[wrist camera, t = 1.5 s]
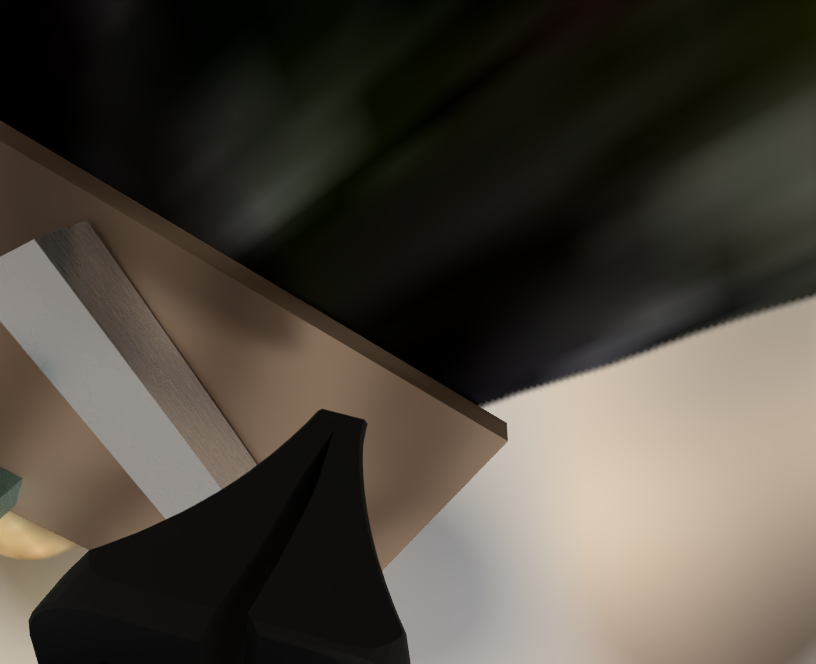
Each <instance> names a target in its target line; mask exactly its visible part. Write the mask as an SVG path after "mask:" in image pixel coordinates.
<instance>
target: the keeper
mask: <svg viewBox="0 0 816 664" xmlns="http://www.w3.org/2000/svg"><path fill="white" fill-rule="evenodd" d="M22 480H23V478H21V477H19V476H17V475H15V474H13V473H11V472H9V471H7V470H5V469H3V468H1V467H0V519H1V518H2V517H3V516H4V515H5V514H6V513H7V512H8V511H9V510H10V509H12V508H13V507H14V506H15V505H16V503H17V499H18V495H19V491H20V488H21V484H22Z"/></svg>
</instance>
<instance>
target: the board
mask: <svg viewBox="0 0 816 664" xmlns="http://www.w3.org/2000/svg"><path fill="white" fill-rule="evenodd" d="M86 220H87V221H88V222H89V224H90V225H91V227H92V228H93V230H94V231H95V232H96V234H97V235H98V237H99V238H100V240H101V241H102V242H103V244H104V245H105V247H106V248H107V250H108V251H109V253H110V254H111V255H112V257H113V258H114V260H115V261H116V263H117V264H118V265H119V267H120V268H121V270H122V271H123V273H124V274H125V276H126V277H127V278H128V280H129V281H130V283H131V284H132V286H133V287H134V288H135V290H136V291H137V293H138V294H139V296H140V297H141V299H142V300H143V301H144V303H145V304H146V306H147V307H148V309H149V310H150V312H151V313H152V314H153V316H154V317H155V319H156V320H157V322H158V323H159V324H160V326H161V327H162V329H163V330H164V332H165V333H166V335H167V336H168V337H169V339H170V340H171V342H172V343H173V345H174V346H175V347H176V349H177V350H178V352H179V353H180V355H181V356H182V358H183V359H184V360H185V362H186V363H187V365H188V366H189V368H190V369H191V370H192V372H193V373H194V375H195V376H196V378H197V379H198V381H199V382H200V383H201V385H202V386H203V388H204V389H205V391H206V392H207V393H208V395H209V396H210V398H211V399H212V401H213V402H214V404H215V405H216V406H217V408H218V409H219V411H220V412H221V414H222V415H223V417H224V418H225V419H226V421H227V422H228V424H229V425H230V427H231V428H232V429H233V431H234V432H235V434H236V435H237V437H238V438H239V440H240V441H241V442H242V444H243V445H244V447H245V448H246V450H247V451H248V452H249V454H250V455H251V457H252V458H253V460H254V461H255V463H256V464H257V465H258V464H259V463H260V462H262V461H263V460H264V459H266V458H267V457H268V456H269V455H271V454H272V453H273V452H274V451H276V450H277V449H278V448H279V447H280V446H281V445H283V444H284V443H285V442H286V441H287V440H288V439H289V438H291V437H292V436H293V435H294V434H295V433H296V432H297V431H298V430H299V429H300V428H301V427H302V426H304V425H305V424H306V423H307V422H308V421H309V420H310V418H311V417H312V416H313V415H314V414H315V413H316V412H317V411H318V410H320V409H325V410H329V411H333V412H337V413H341V414H345V415H349V416H353V417H357V418H361V419H365V421H366V422H367V424H368V425H367V430H366V434H365V439H364V444H363V476H364V489H365V497H366V505H367V512H368V517H369V523H370V527H371V532H372V537H373V541H374V545H375V549H376V553H377V556H378V559H379V563H380V566H381V569H382V570H383V569H384V568H385V567H386V566H387V565H388V564H389V563H390V562H391V561H392V560H393V559H394V558H395V557H396V556H397V555H398V554H399V553H400V552H401V551H402V549H403V548H404V547H405V546H406V545H407V544H408V543H409V542H410V541H411V540H412V539H413V538H414V537H415V536H416V535H417V534H418V533H419V532H420V531H421V530H422V529H423V528H424V527H425V526H426V525H427V524H428V523H429V522H430V521H431V520H432V519H433V517H435V515H436V514H437V513H438V512H439V511H440V510H441V509H442V508H443V507H444V506H445V505H446V504H447V503H448V502H449V501H450V500H451V499H452V498H453V497H454V496H455V495H456V494H457V493H458V492H459V491H460V490H461V489H462V488H463V487H464V486H465V485H466V484H467V483H468V482H469V481H470V479H471V478H472V477H473V476H474V475H475V474H476V473H477V472H478V471H479V470H480V469H481V468H482V467H483V466H484V465H485V464H486V463H487V462H488V461H489V460H490V459H491V458H492V457H493V456H494V455H495V454H496V453H497V452H498V451H499V449H500V448H502V447H503V445H504V444H505V443H506V442H507V441H508V438H507V423H505V422H504V421H502V420H501V419H499V418H497V417H496V416H494V415H492V414H490V413H489V412H487V411H485V410H484V409H482V408H480V407H479V406H477V405H475V404H474V403H472V402H470V401H469V400H467V399H465V398H464V397H462V396H460V395H459V394H457V393H455V392H454V391H452V390H450V389H449V388H447V387H445V386H444V385H442V384H440V383H439V382H437V381H435V380H434V379H432V378H430V377H429V376H427V375H425V374H424V373H422V372H420V371H419V370H417V369H415V368H414V367H412V366H410V365H409V364H407V363H405V362H404V361H402V360H400V359H398V358H397V357H395V356H393V355H392V354H390V353H388V352H387V351H385V350H383V349H382V348H380V347H378V346H377V345H375V344H373V343H372V342H370V341H368V340H367V339H365V338H363V337H362V336H360V335H358V334H357V333H355V332H353V331H352V330H350V329H348V328H347V327H345V326H343V325H342V324H340V323H338V322H337V321H335V320H333V319H332V318H330V317H328V316H327V315H325V314H323V313H322V312H320V311H318V310H317V309H315V308H313V307H311V306H310V305H308V304H306V303H305V302H303V301H301V300H300V299H298V298H296V297H295V296H293V295H291V294H290V293H288V292H286V291H285V290H283V289H281V288H280V287H278V286H276V285H275V284H273V283H271V282H270V281H268V280H266V279H265V278H263V277H261V276H260V275H258V274H256V273H255V272H253V271H251V270H250V269H248V268H246V267H245V266H243V265H241V264H240V263H238V262H236V261H235V260H233V259H231V258H230V257H228V256H226V255H224V254H223V253H221V252H219V251H218V250H216V249H214V248H213V247H211V246H209V245H208V244H206V243H204V242H203V241H201V240H199V239H198V238H196V237H194V236H193V235H191V234H189V233H188V232H186V231H184V230H183V229H181V228H179V227H178V226H176V225H174V224H173V223H171V222H169V221H168V220H166V219H164V218H163V217H161V216H159V215H158V214H156V213H154V212H153V211H151V210H149V209H148V208H146V207H144V206H143V205H141V204H139V203H137V202H136V201H134V200H132V199H131V198H129V197H127V196H126V195H124V194H122V193H121V192H119V191H117V190H116V189H114V188H112V187H111V186H109V185H107V184H106V183H104V182H102V181H101V180H99V179H97V178H96V177H94V176H92V175H91V174H89V173H87V172H86V171H84V170H82V169H81V168H79V167H77V166H76V165H74V164H72V163H71V162H69V161H67V160H66V159H64V158H62V157H61V156H59V155H57V154H56V153H54V152H52V151H50V150H49V149H47V148H45V147H44V146H42V145H40V144H39V143H37V142H35V141H34V140H32V139H30V138H29V137H27V136H25V135H24V134H22V133H20V132H19V131H17V130H15V129H14V128H12V127H10V126H9V125H7V124H5V123H4V122H2V121H0V257H1V256H3V255H5V254H7V253H8V252H10V251H12V250H14V249H16V248H18V247H20V246H22V245H24V244H26V243H28V242H30V241H31V240H33V239H36V238H39V237H41V236H44V235H47V234H50V233H53V232H55V231H58V230H61V229H64V228H67V227H69V226H72V225H75V224H78V223H81V222H83V221H86ZM0 467H1V468H3V469H5V470H7V471H9V472H11V473H13V474H15V475H17V476H19V477H21V478H23V480H22V484H21V488H20V491H19V495H18V499H17V503H16V505H15V506H14V507H13V508H12V509H10V510H9V511H11V512H13V513H15V514H17V515H19V516H21V517H23V518H25V519H27V520H29V521H31V522H33V523H35V524H37V525H39V526H41V527H43V528H46V529H48V530H50V531H52V532H54V533H56V534H58V535H60V536H62V537H64V538H66V539H68V540H70V541H72V542H74V543H76V544H78V545H80V546H82V547H85V548H87V549H89V550H91V549H94V548H97V547H100V546H103V545H105V544H108V543H111V542H113V541H116V540H119V539H121V538H124V537H127V536H129V535H132V534H135V533H137V532H139V531H142V530H144V529H146V528H148V527H151V526H153V525H155V524H157V523H159V522H161V521H163V520H166V519H165V518H164V516H163V515H162V514H161V513H160V512H159V511H158V509H157V508H156V507H155V506H154V505H153V503H152V502H151V501H150V500H149V499H148V497H147V496H146V495H145V494H144V493H143V491H142V490H141V489H140V488H139V487H138V485H137V484H136V483H135V482H134V481H133V479H132V478H131V477H130V476H129V475H128V473H127V472H126V471H125V470H124V469H123V467H122V466H121V465H120V464H119V463H118V461H117V460H116V459H115V458H114V457H113V455H112V454H111V453H110V452H109V451H108V449H107V448H106V447H105V446H104V445H103V444H102V442H101V441H100V440H99V439H98V438H97V436H96V435H95V434H94V433H93V432H92V430H91V429H90V428H89V427H88V426H87V424H86V423H85V422H84V421H83V420H82V418H81V417H80V416H79V415H78V414H77V412H76V411H75V410H74V409H73V408H72V406H71V405H70V404H69V403H68V402H67V400H66V399H65V398H64V397H63V396H62V394H61V393H60V392H59V391H58V390H57V388H56V387H55V386H54V385H53V384H52V382H51V381H50V380H49V379H48V378H47V377H46V375H45V374H44V373H43V372H42V371H41V369H40V368H39V367H38V366H37V365H36V363H35V362H34V361H33V360H32V359H31V357H30V356H29V355H28V354H27V353H26V351H25V350H24V349H23V348H22V347H21V345H20V344H19V343H18V342H17V341H16V339H15V338H14V337H13V336H12V335H11V333H10V332H9V331H8V330H7V329H6V327H5V326H4V325H3V324H2V323H1V321H0Z"/></svg>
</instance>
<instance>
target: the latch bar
mask: <svg viewBox="0 0 816 664" xmlns="http://www.w3.org/2000/svg"><path fill="white" fill-rule="evenodd" d="M0 321H1V323H2V324H3V325H4V326H5V327H6V329H7V330H8V331H9V332H10V333H11V335H12V336H13V337H14V338H15V339H16V341H17V342H18V343H19V344H20V345H21V347H22V348H23V349H24V350H25V351H26V353H27V354H28V355H29V356H30V357H31V359H32V360H33V361H34V362H35V363H36V365H37V366H38V367H39V368H40V369H41V371H42V372H43V373H44V374H45V375H46V377H47V378H48V379H49V380H50V381H51V382H52V384H53V385H54V386H55V387H56V388H57V390H58V391H59V392H60V393H61V394H62V396H63V397H64V398H65V399H66V400H67V402H68V403H69V404H70V405H71V406H72V408H73V409H74V410H75V411H76V412H77V414H78V415H79V416H80V417H81V418H82V420H83V421H84V422H85V423H86V424H87V426H88V427H89V428H90V429H91V430H92V432H93V433H94V434H95V435H96V436H97V438H98V439H99V440H100V441H101V442H102V444H103V445H104V446H105V447H106V448H107V449H108V451H109V452H110V453H111V454H112V455H113V457H114V458H115V459H116V460H117V461H118V463H119V464H120V465H121V466H122V467H123V469H124V470H125V471H126V472H127V473H128V475H129V476H130V477H131V478H132V479H133V481H134V482H135V483H136V484H137V485H138V487H139V488H140V489H141V490H142V491H143V493H144V494H145V495H146V496H147V497H148V499H149V500H150V501H151V502H152V503H153V505H154V506H155V507H156V508H157V509H158V511H159V512H160V513H161V514H162V515H163V516H164V518H165V519H168V518H170V517H172V516H174V515H176V514H178V513H180V512H182V511H184V510H186V509H188V508H190V507H192V506H194V505H196V504H197V503H199V502H201V501H203V500H204V499H206V498H208V497H210V496H211V495H213V494H215V493H217V492H218V491H220V490H221V489H223V488H225V487H226V486H228V485H229V484H231V483H232V482H234V481H235V480H237V479H238V478H240V477H241V476H243V475H244V474H246V473H247V472H248V471H250V470H251V469H252V468H254V467H255V466H256V465H257V464H256V463H255V461H254V460H253V458H252V457H251V455H250V454H249V452H248V451H247V450H246V448H245V447H244V445H243V444H242V442H241V441H240V440H239V438H238V437H237V435H236V434H235V432H234V431H233V429H232V428H231V427H230V425H229V424H228V422H227V421H226V419H225V418H224V417H223V415H222V414H221V412H220V411H219V409H218V408H217V406H216V405H215V404H214V402H213V401H212V399H211V398H210V396H209V395H208V393H207V392H206V391H205V389H204V388H203V386H202V385H201V383H200V382H199V381H198V379H197V378H196V376H195V375H194V373H193V372H192V370H191V369H190V368H189V366H188V365H187V363H186V362H185V360H184V359H183V358H182V356H181V355H180V353H179V352H178V350H177V349H176V347H175V346H174V345H173V343H172V342H171V340H170V339H169V337H168V336H167V335H166V333H165V332H164V330H163V329H162V327H161V326H160V324H159V323H158V322H157V320H156V319H155V317H154V316H153V314H152V313H151V312H150V310H149V309H148V307H147V306H146V304H145V303H144V301H143V300H142V299H141V297H140V296H139V294H138V293H137V291H136V290H135V288H134V287H133V286H132V284H131V283H130V281H129V280H128V278H127V277H126V276H125V274H124V273H123V271H122V270H121V268H120V267H119V265H118V264H117V263H116V261H115V260H114V258H113V257H112V255H111V254H110V253H109V251H108V250H107V248H106V247H105V245H104V244H103V242H102V241H101V240H100V238H99V237H98V235H97V234H96V232H95V231H94V230H93V228H92V227H91V225H90V224H89V222H88V221H87V220H86V221H83V222H81V223H78V224H75V225H72V226H69V227H67V228H64V229H61V230H58V231H55V232H53V233H50V234H47V235H44V236H41V237H39V238H36V239H33V240H31V241H30V242H28V243H26V244H24V245H22V246H20V247H18V248H16V249H14V250H12V251H10V252H8V253H7V254H5V255H3V256H1V257H0Z"/></svg>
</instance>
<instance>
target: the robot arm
mask: <svg viewBox="0 0 816 664" xmlns="http://www.w3.org/2000/svg"><path fill="white" fill-rule="evenodd" d="M367 425H368V424H367V422H366V421H365V419H361V418H357V417H353V416H349V415H345V414H341V413H337V412H333V411H329V410H325V409H320V410H318V411H317V412H316V413H315V414H314V415H313V416H312V417H311V418H310V420H309V421H308V422H307V423H306V424H305V425H304V426H302V427H301V428H300V429H299V430H298V431H297V432H296V433H295V434H294V435H293V436H292V437H291V438H289V439H288V440H287V441H286V442H285V443H284V444H283V445H281V446H280V447H279V448H278V449H277V450H276V451H274V452H273V453H272V454H271V455H269V456H268V457H267V458H266V459H264V460H263V461H262V462H260V463H259V464H258V465H256V466H255V467H254V468H252V469H251V470H250V471H248V472H247V473H246V474H244V475H243V476H241V477H240V478H238V479H237V480H235V481H234V482H232V483H231V484H229V485H228V486H226V487H225V488H223V489H221V490H220V491H218V492H217V493H215V494H213V495H211V496H210V497H208V498H206V499H204V500H203V501H201V502H199V503H197V504H196V505H194V506H192V507H190V508H188V509H186V510H184V511H182V512H180V513H178V514H176V515H174V516H172V517H170V518H168V519H166V520H163V521H161V522H159V523H157V524H155V525H153V526H151V527H148V528H146V529H144V530H142V531H139V532H137V533H135V534H132V535H129V536H127V537H124V538H121V539H119V540H116V541H113V542H111V543H108V544H105V545H103V546H100V547H97V548H94V549H91V550H89V551H88V552H87V553H86V554H85V555H84V556H83V557H82V558H81V559H80V560H79V561H78V562H77V563H76V564H75V565H74V566H73V567H71V569H70V570H69V571H68V572H67V573H66V574H65V575H64V576H63V577H62V578H61V579H60V580H59V582H58V583H57V584H56V585H55V586H54V587H53V589H52V590H51V591H50V592H49V593H48V594H47V595H46V597H45V598H44V599H43V600H42V601H41V603H40V604H39V605H38V606H37V607H36V609H35V610H34V611H33V612H32V614H31V616H30V619H29V629H30V637H31V640H32V643H33V647H34V651H35V654H36V657H37V661H38V664H410V657H409V651H408V644H407V637H406V633H405V630H404V628H403V626H402V623H401V621H400V619H399V617H398V614H397V611H396V609H395V607H394V604H393V602H392V599H391V596H390V593H389V591H388V588H387V585H386V582H385V579H384V576H383V573H382V569H381V566H380V563H379V559H378V556H377V553H376V549H375V545H374V541H373V537H372V532H371V527H370V523H369V517H368V512H367V505H366V497H365V489H364V476H363V444H364V439H365V434H366V430H367Z"/></svg>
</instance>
